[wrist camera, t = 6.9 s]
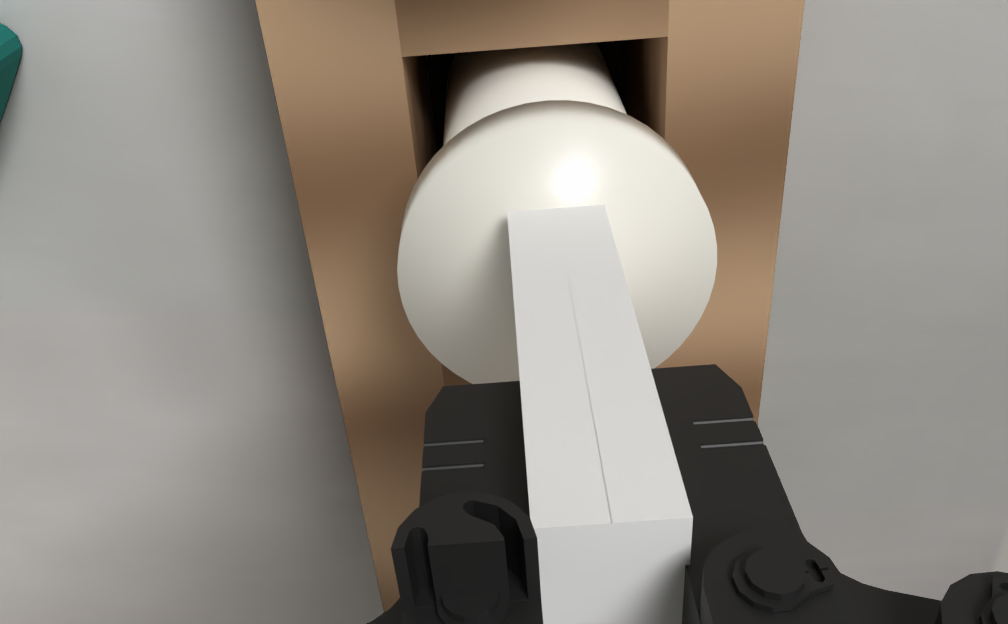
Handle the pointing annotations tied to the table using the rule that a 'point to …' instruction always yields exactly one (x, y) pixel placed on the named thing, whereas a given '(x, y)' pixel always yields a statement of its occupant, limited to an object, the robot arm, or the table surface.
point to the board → (412, 144)
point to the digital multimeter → (8, 63)
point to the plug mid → (545, 205)
